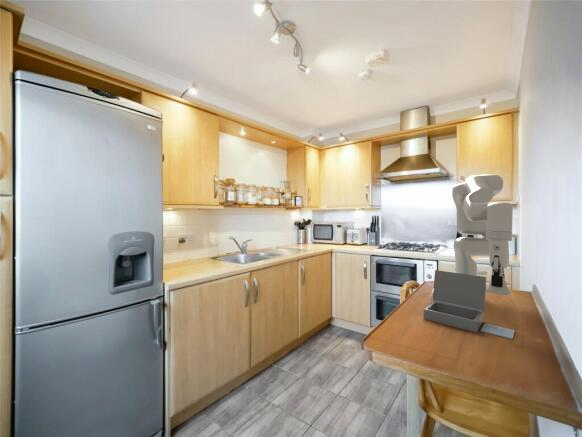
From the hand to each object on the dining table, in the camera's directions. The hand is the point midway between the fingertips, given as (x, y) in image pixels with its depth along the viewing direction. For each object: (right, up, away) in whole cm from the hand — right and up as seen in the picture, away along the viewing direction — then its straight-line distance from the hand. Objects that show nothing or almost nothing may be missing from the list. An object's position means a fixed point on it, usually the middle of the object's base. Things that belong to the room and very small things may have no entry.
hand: (497, 284), depth 97 cm
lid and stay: (-6, -14, +14) cm, 21 cm away
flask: (0, -3, 0) cm, 3 cm away
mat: (0, -17, 0) cm, 17 cm away
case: (-11, -17, +10) cm, 22 cm away
